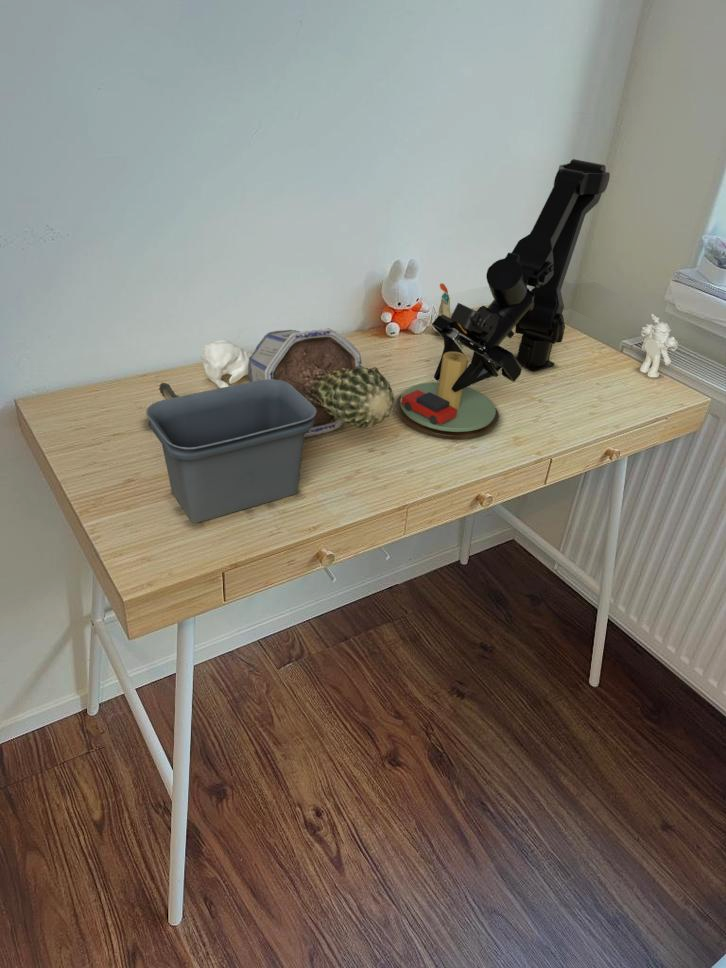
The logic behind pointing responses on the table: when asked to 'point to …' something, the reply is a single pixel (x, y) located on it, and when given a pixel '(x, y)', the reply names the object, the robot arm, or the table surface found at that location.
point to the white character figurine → (656, 346)
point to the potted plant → (324, 377)
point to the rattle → (445, 304)
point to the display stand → (444, 434)
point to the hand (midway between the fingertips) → (444, 384)
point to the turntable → (448, 400)
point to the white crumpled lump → (224, 361)
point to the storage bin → (232, 445)
